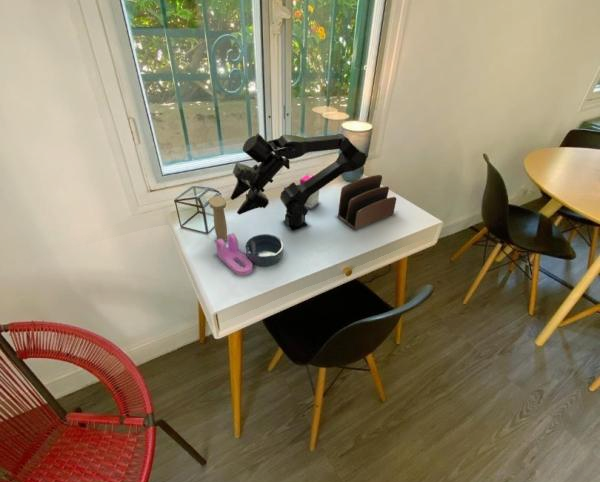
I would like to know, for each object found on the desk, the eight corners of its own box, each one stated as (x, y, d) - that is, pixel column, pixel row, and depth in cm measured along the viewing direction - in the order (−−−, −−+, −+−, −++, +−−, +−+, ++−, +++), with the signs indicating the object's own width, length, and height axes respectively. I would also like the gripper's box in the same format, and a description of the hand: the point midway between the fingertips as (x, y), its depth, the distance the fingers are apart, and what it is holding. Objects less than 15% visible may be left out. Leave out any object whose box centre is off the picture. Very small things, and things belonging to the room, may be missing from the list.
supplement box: (318, 203, 133) (320, 177, 126) (311, 209, 128) (312, 183, 122) (306, 198, 135) (307, 173, 128) (298, 205, 131) (299, 179, 124)
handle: (218, 246, 108) (212, 207, 99) (212, 236, 113) (206, 197, 104) (232, 242, 110) (228, 204, 101) (226, 232, 115) (221, 194, 106)
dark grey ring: (271, 239, 112) (271, 230, 110) (290, 259, 104) (290, 249, 102) (240, 251, 107) (239, 241, 105) (257, 272, 99) (256, 262, 97)
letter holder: (337, 217, 125) (341, 183, 117) (375, 203, 134) (381, 171, 126) (354, 230, 118) (360, 196, 110) (393, 215, 128) (401, 182, 119)
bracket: (217, 255, 105) (214, 238, 101) (232, 248, 108) (230, 231, 104) (240, 277, 97) (239, 259, 93) (256, 269, 100) (255, 251, 96)
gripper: (240, 143, 105) (209, 179, 108) (257, 168, 91) (220, 209, 94) (265, 163, 113) (235, 196, 115) (283, 189, 99) (249, 226, 101)
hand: (234, 206), depth 106 cm, fingers open, 9 cm apart
